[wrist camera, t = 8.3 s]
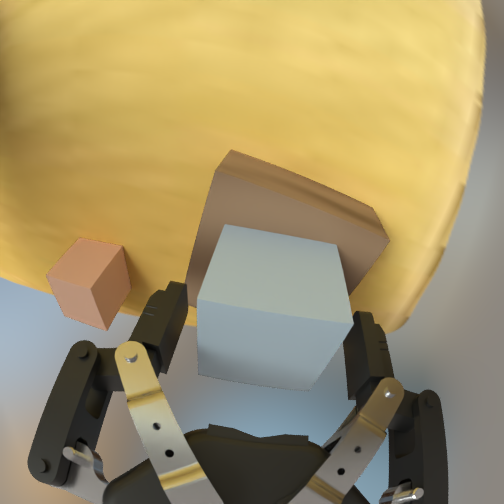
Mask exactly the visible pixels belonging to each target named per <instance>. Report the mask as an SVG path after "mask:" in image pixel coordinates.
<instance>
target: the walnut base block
mask: <svg viewBox="0 0 504 504" xmlns="http://www.w3.org/2000/svg"><path fill="white" fill-rule="evenodd" d="M225 224H227V225H233V226H239V227H245V228H250V229H256V230H261V231H267V232H273V233H278V234H283V235H289V236H294V237H299V238H305V239H310V240H315V241H320V242H325V243H330V244H335V245H337V248H338V252H339V256H340V261H341V265H342V269H343V274H344V278H345V283H346V287H347V292H348V297H349V295H350V294H351V293H352V292H353V290H354V289H355V288H356V286H357V285H358V284H359V283H360V281H361V280H362V279H363V277H364V276H365V275H366V273H367V272H368V271H369V269H370V268H371V267H372V265H373V264H374V262H375V261H376V260H377V258H378V257H379V256H380V254H381V253H382V251H383V250H384V248H385V247H386V246H387V244H388V243H389V241H390V240H389V238H388V236H387V234H386V232H385V230H384V228H383V226H382V224H381V222H380V220H379V219H378V217H377V215H376V213H375V211H374V209H373V208H372V207H370V206H368V205H366V204H364V203H362V202H360V201H358V200H356V199H353V198H351V197H349V196H347V195H345V194H343V193H340V192H338V191H336V190H334V189H331V188H329V187H327V186H325V185H322V184H320V183H318V182H315V181H313V180H311V179H308V178H306V177H303V176H301V175H298V174H296V173H293V172H291V171H288V170H286V169H283V168H281V167H278V166H276V165H273V164H270V163H268V162H265V161H262V160H260V159H257V158H254V157H251V156H248V155H246V154H243V153H240V152H237V151H234V150H230V151H229V153H228V154H227V155H226V157H225V158H224V159H223V161H222V162H221V163H220V165H219V166H218V168H217V169H216V170H215V173H214V177H213V180H212V183H211V187H210V190H209V193H208V197H207V200H206V204H205V207H204V211H203V214H202V218H201V221H200V225H199V229H198V232H197V236H196V240H195V244H194V247H193V251H192V255H191V259H190V263H189V267H188V271H187V275H186V279H185V283H184V284H187V293H188V305H189V306H192V307H195V308H197V297H198V294H199V292H200V289H201V286H202V283H203V281H204V278H205V275H206V272H207V270H208V267H209V264H210V262H211V259H212V256H213V253H214V251H215V248H216V246H217V243H218V240H219V238H220V235H221V232H222V230H223V227H224V225H225Z"/></svg>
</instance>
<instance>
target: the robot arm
mask: <svg viewBox="0 0 504 504" xmlns="http://www.w3.org/2000/svg"><path fill="white" fill-rule="evenodd" d="M187 313H188V293H187V284H184V283H179V282H174V281H170V283H169V284H168V286H167V289H166V291H163V290H158V291H156V292H155V293H154V294H153V295H152V296H151V297H150V299H149V300H148V302H147V304H146V307H145V308H144V310H143V313H142V314H141V316H140V318H139V320H138V322H137V325H136V326H135V328H134V330H133V332H132V335H131V337H130V339H129V340H128V341H127V342H125V343H122V344H121V345H120V346H119V347H117V348H96V346H95V345H94V344H93V343H92V342H90V341H86V340H83V341H79V342H77V343H75V344H74V345H73V346H72V348H71V349H70V351H69V353H68V355H67V357H66V360H65V362H64V364H63V366H62V368H61V370H60V373H59V375H58V377H57V380H56V382H55V384H54V386H53V389H52V391H51V394H50V396H49V399H48V401H47V403H46V406H45V409H44V412H43V414H42V417H41V419H40V423H39V425H38V428H37V431H36V434H35V438H34V440H33V443H32V446H31V450H30V453H29V457H28V468H29V471H30V473H31V474H32V476H33V477H34V478H35V479H37V480H38V481H40V482H42V483H46V484H49V485H50V486H53V487H56V488H60V489H64V490H66V491H68V492H70V493H72V494H75V495H76V496H78V497H81V498H83V499H85V500H87V501H90V502H92V503H94V504H370V503H369V502H368V501H367V499H366V498H365V497H364V496H363V495H362V494H361V493H360V491H359V490H358V489H357V488H356V486H355V485H354V483H355V482H356V481H357V479H358V478H359V477H360V475H361V474H362V473H363V471H364V470H365V468H366V467H367V465H368V464H369V463H370V461H371V460H372V458H373V457H374V455H375V454H376V452H377V451H378V449H379V447H380V446H381V444H382V443H383V441H384V439H385V437H386V435H387V433H386V432H385V430H386V428H388V432H389V486H388V489H387V490H386V491H385V492H384V493H383V495H382V496H381V498H380V500H379V504H448V462H447V449H446V438H445V429H444V421H443V414H442V408H441V402H440V399H439V396H438V395H437V394H436V393H435V392H434V391H432V390H424V391H423V392H421V393H420V394H417V393H413V392H410V391H407V390H404V388H403V386H402V385H401V383H400V382H399V381H398V380H396V379H395V378H394V374H393V369H392V363H391V359H390V354H389V351H388V345H387V343H386V342H387V341H386V336H385V333H384V331H383V329H382V328H381V326H380V325H379V324H375V323H374V319H373V315H372V313H370V312H362V311H356V312H355V313H354V315H353V323H354V324H353V326H352V328H351V329H350V331H349V333H348V334H347V336H346V337H345V339H344V341H343V347H344V355H345V366H346V377H347V389H348V400H356V406H355V407H354V408H353V410H352V411H351V412H350V414H349V415H348V417H347V418H346V419H345V420H344V422H343V423H342V424H341V426H340V427H339V428H338V429H337V431H336V432H335V433H334V434H333V435H332V437H331V438H329V439H328V440H327V442H326V443H324V445H323V446H322V447H320V446H319V445H317V444H315V443H313V442H310V441H308V436H303V435H302V436H301V435H287V434H284V435H277V436H271V437H262V438H259V437H255V436H252V435H250V434H247V433H244V432H242V431H239V430H237V429H234V428H228V427H223V426H218V425H212V424H209V427H208V429H198V430H194V431H190V432H188V433H185V434H183V433H182V431H181V429H180V428H179V426H178V423H177V422H176V419H175V417H174V415H173V413H172V411H171V409H170V407H169V404H168V402H167V400H166V398H165V396H164V393H163V391H162V389H161V387H160V384H159V382H158V380H157V379H158V376H159V373H160V372H161V373H165V374H167V371H168V368H169V365H170V362H171V359H172V357H173V354H174V351H175V348H176V345H177V342H178V340H179V336H180V334H181V331H182V329H183V326H184V323H185V320H186V317H187ZM113 391H125V393H126V396H127V404H128V407H129V410H130V413H131V416H132V418H133V421H134V424H135V426H136V429H137V431H138V434H139V436H140V439H141V441H142V443H143V446H144V448H145V450H146V452H147V455H148V457H149V458H148V459H147V460H145V461H143V462H142V463H140V464H138V465H137V466H135V467H134V468H132V469H130V470H129V471H127V472H126V473H124V474H122V475H121V476H119V477H117V478H115V479H114V480H112V481H111V482H110V483H109V482H108V481H107V480H106V479H105V477H104V474H103V462H102V459H101V457H100V455H99V454H98V453H97V452H96V451H95V448H96V445H97V441H98V437H99V434H100V431H101V427H102V424H103V421H104V417H105V414H106V411H107V407H108V405H109V402H110V399H111V395H112V393H113Z"/></svg>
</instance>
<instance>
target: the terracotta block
mask: <svg viewBox="0 0 504 504" xmlns="http://www.w3.org/2000/svg"><path fill="white" fill-rule="evenodd" d="M46 277H47V279H48V282H49V284H50V286H51V289H52V291H53V293H54V295H55V297H56V299H57V301H58V303H59V306H60V308H61V310H62V312H63V314H64V316H66V317H69V318H71V319H74V320H77V321H79V322H82V323H85V324H88V325H90V326H93V327H96V328H99V329H102V330H105V331H107V330H108V328H109V327H110V325H111V323H112V321H113V319H114V318H115V316H116V314H117V312H118V311H119V309H120V307H121V305H122V304H123V302H124V300H125V299H126V297H127V295H128V293H129V292H130V290H131V288H132V287H131V283H130V279H129V274H128V270H127V265H126V260H125V255H124V250H123V246H121V245H116V244H111V243H105V242H100V241H95V240H89V239H84V238H79V239H78V240H77V241H76V242H75V243H74V244H73V245H72V246H71V247H70V248H69V249H68V250H67V251H66V253H65V254H64V255H63V256H62V257H61V258H60V259H59V260H58V261H57V263H56V264H55V265H54V266H53V267H52V268H51V269H50V271H49V272H48V273H47V274H46Z"/></svg>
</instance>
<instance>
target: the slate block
mask: <svg viewBox="0 0 504 504" xmlns="http://www.w3.org/2000/svg"><path fill="white" fill-rule="evenodd" d="M353 324H354V323H353V317H352V312H351V307H350V302H349V297H348V292H347V287H346V283H345V278H344V274H343V269H342V265H341V261H340V256H339V252H338V248H337V245H335V244H330V243H325V242H320V241H315V240H310V239H305V238H299V237H294V236H289V235H283V234H278V233H273V232H267V231H261V230H256V229H250V228H245V227H239V226H233V225H227V224H225V225H224V227H223V230H222V232H221V235H220V238H219V240H218V243H217V246H216V248H215V251H214V253H213V256H212V259H211V262H210V264H209V267H208V270H207V272H206V275H205V278H204V281H203V283H202V286H201V289H200V292H199V294H198V297H197V344H198V345H197V346H198V374H199V375H202V376H207V377H212V378H217V379H222V380H227V381H233V382H239V383H245V384H251V385H258V386H265V387H272V388H281V389H290V390H301V391H309V390H310V389H311V387H312V386H313V384H314V383H315V382H316V381H317V379H318V378H319V376H320V375H321V373H322V372H323V371H324V369H325V368H326V366H327V365H328V363H329V362H330V360H331V359H332V357H333V356H334V354H335V353H336V351H337V350H338V348H339V347H340V345H341V344H342V342H343V341H344V339H345V337H346V336H347V334H348V333H349V331H350V329H351V328H352V326H353Z"/></svg>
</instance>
